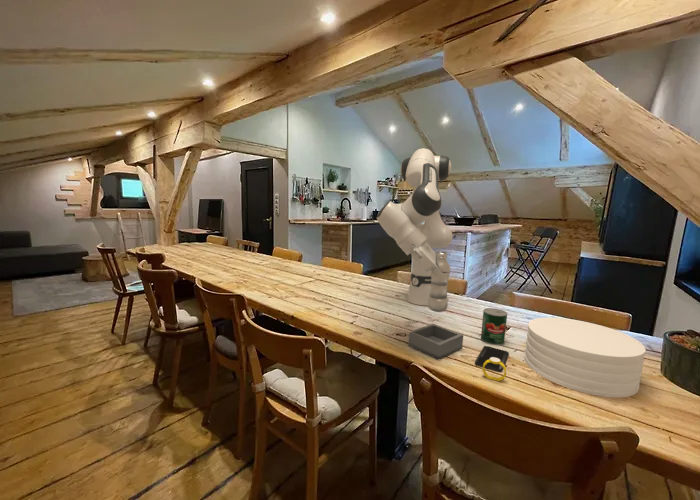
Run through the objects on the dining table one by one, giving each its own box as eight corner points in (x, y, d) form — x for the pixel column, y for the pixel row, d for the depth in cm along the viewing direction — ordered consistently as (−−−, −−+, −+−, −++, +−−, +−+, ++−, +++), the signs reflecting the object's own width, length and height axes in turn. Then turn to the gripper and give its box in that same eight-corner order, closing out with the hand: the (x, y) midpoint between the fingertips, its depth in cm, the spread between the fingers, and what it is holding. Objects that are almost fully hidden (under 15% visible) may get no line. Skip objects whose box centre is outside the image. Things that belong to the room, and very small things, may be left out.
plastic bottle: (447, 309, 108) (451, 251, 105) (447, 315, 101) (452, 254, 99) (427, 306, 110) (431, 250, 107) (427, 312, 103) (431, 252, 101)
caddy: (432, 336, 116) (433, 323, 116) (462, 348, 107) (463, 334, 106) (408, 345, 108) (409, 331, 107) (438, 360, 99) (439, 345, 98)
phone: (509, 351, 104) (501, 370, 92) (509, 355, 104) (501, 374, 92) (484, 345, 108) (473, 362, 96) (484, 348, 109) (473, 365, 96)
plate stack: (638, 369, 96) (644, 334, 95) (639, 412, 76) (647, 368, 74) (535, 341, 115) (538, 311, 113) (513, 370, 94) (517, 333, 92)
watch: (482, 379, 89) (482, 359, 88) (483, 374, 91) (483, 355, 91) (505, 384, 86) (506, 363, 85) (506, 379, 88) (506, 359, 88)
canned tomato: (490, 346, 109) (493, 316, 108) (476, 337, 117) (478, 308, 115) (509, 344, 112) (512, 314, 110) (493, 335, 119) (496, 307, 117)
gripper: (419, 240, 94) (450, 274, 93) (422, 234, 113) (448, 262, 112) (403, 253, 96) (434, 287, 95) (409, 245, 115) (435, 273, 114)
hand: (442, 274), depth 104 cm, fingers closed on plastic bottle, 6 cm apart
